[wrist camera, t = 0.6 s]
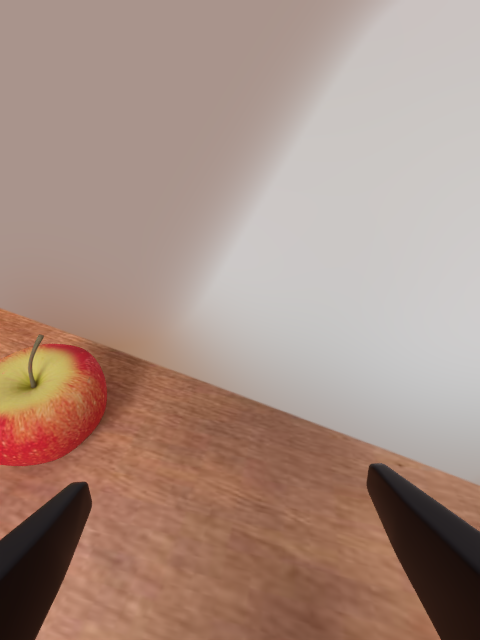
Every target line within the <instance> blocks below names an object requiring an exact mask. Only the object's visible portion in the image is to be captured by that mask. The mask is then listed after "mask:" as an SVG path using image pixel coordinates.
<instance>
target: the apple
mask: <svg viewBox="0 0 480 640" xmlns="http://www.w3.org/2000/svg"><path fill="white" fill-rule="evenodd" d="M43 337H44V336H43V335H38V337H37V339H36V342H35V344H34V346H31V347H27V348H24V349H22V350H19V351H17V352H15V353H12V354H10V355H8V356H6V357H4V358H2V359H0V465H9V466H28V465H36V464H42V463H46V462H50V461H53V460H56V459H59V458H61V457H62V456H64V455H66V454H68V453H69V452H71V451H72V450H73V449H75V448H76V447H77V446H78V445H80V444H81V443H82V442H83V441H84V440H85V439H86V438H87V437H88V436H89V435H90V434H91V433H92V432H93V430H94V429H95V428H96V427H97V425H98V424H99V422H100V420H101V418H102V416H103V414H104V411H105V408H106V402H107V387H106V381H105V377H104V374H103V372H102V369H101V367H100V365H99V364H98V362H97V361H96V359H95V358H94V357H93V356H92V355H91V354H90V353H89V352H87V351H86V350H84V349H82V348H79V347H76V346H71V345H65V344H42V345H39V344H40V343H41V341H42V339H43Z"/></svg>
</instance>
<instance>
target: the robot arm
mask: <svg viewBox="0 0 480 640" xmlns="http://www.w3.org/2000/svg"><path fill="white" fill-rule="evenodd" d="M367 489H368V492H369V495H370V497H371V499H372V502H373V504H374V506H375V508H376V511H377V513H378V515H379V518H380V520H381V522H382V524H383V527H384V529H385V531H386V533H387V536H388V538H389V540H390V543H391V545H392V547H393V549H394V551H395V553H396V555H397V557H398V559H399V561H400V563H401V565H402V567H403V569H404V571H405V572H406V574H407V576H408V578H409V580H410V582H411V584H412V586H413V588H414V589H415V591H416V593H417V595H418V597H419V599H420V601H421V603H422V604H423V606H424V608H425V610H426V612H427V614H428V616H429V618H430V620H431V621H432V623H433V625H434V627H435V629H436V631H437V633H438V635H439V637H440V638H441V640H480V532H479V531H478V530H477V529H475V528H474V527H472V526H471V525H469V524H468V523H467V522H465V521H464V520H462V519H461V518H460V517H458V516H457V515H455V514H454V513H453V512H451V511H450V510H448V509H447V508H446V507H444V506H443V505H441V504H440V503H438V502H437V501H436V500H434V499H433V498H431V497H430V496H429V495H427V494H426V493H424V492H423V491H422V490H420V489H419V488H417V487H416V486H415V485H413V484H412V483H410V482H409V481H407V480H406V479H405V478H403V477H402V476H400V475H399V474H398V473H396V472H395V471H393V470H392V469H391V468H389V467H388V466H386V465H385V464H382V463H377V464H371V465H370V466H369V470H368V477H367ZM91 507H92V499H91V495H90V491H89V487H88V484H87V483H86V482H74V483H71V484H70V485H68V486H67V487H66V488H64V489H63V490H62V491H61V492H59V493H58V494H57V495H56V496H55V497H53V498H52V499H51V500H50V501H48V502H47V503H46V504H45V505H43V506H42V507H41V508H40V509H38V510H37V511H36V512H35V513H33V514H32V515H31V516H30V517H28V518H27V519H26V520H25V521H23V522H22V523H21V524H20V525H19V526H17V527H16V528H15V529H14V530H12V531H11V532H10V533H9V534H7V535H6V536H5V537H4V538H2V539H1V540H0V640H35V639H36V637H37V635H38V633H39V630H40V628H41V626H42V624H43V622H44V620H45V618H46V616H47V614H48V611H49V609H50V607H51V605H52V603H53V601H54V599H55V597H56V595H57V593H58V590H59V588H60V586H61V584H62V582H63V579H64V577H65V575H66V572H67V570H68V567H69V565H70V562H71V560H72V557H73V555H74V552H75V549H76V547H77V544H78V542H79V539H80V537H81V534H82V531H83V529H84V526H85V524H86V521H87V519H88V516H89V513H90V511H91Z"/></svg>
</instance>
